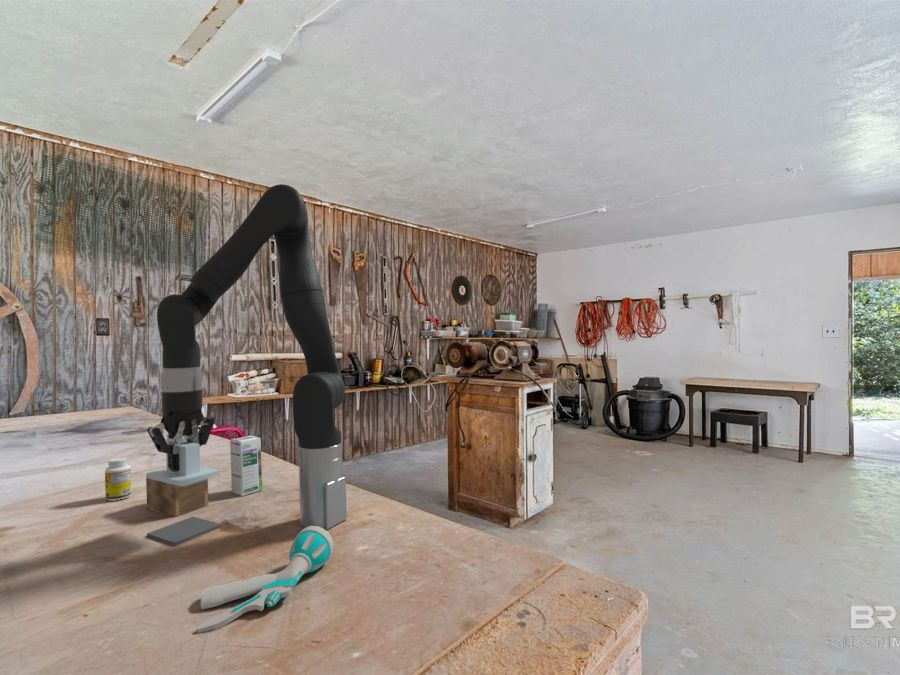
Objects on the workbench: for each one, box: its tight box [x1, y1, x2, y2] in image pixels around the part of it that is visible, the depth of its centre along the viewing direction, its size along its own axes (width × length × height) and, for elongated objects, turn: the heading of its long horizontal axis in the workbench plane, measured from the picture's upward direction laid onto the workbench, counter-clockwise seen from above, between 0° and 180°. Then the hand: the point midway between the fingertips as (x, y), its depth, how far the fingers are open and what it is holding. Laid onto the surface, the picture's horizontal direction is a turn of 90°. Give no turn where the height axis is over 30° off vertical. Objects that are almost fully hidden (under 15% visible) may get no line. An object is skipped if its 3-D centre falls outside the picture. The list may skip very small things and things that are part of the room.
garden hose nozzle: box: [195, 526, 335, 633], centre depth 74 cm, size 7×18×20 cm
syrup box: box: [229, 435, 263, 497], centre depth 122 cm, size 6×6×14 cm
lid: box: [145, 440, 221, 487], centre depth 98 cm, size 12×8×8 cm
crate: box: [145, 478, 209, 517], centre depth 112 cm, size 12×8×8 cm, turn 62°
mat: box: [146, 516, 222, 546], centre depth 97 cm, size 10×10×1 cm
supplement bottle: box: [104, 457, 133, 502], centre depth 119 cm, size 6×6×10 cm
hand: (183, 468), depth 98 cm, fingers closed on lid, 3 cm apart
